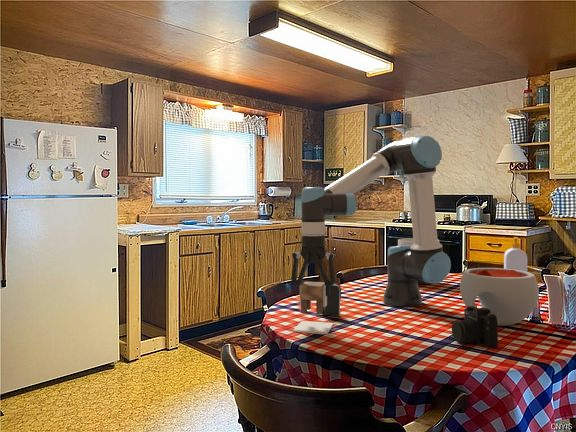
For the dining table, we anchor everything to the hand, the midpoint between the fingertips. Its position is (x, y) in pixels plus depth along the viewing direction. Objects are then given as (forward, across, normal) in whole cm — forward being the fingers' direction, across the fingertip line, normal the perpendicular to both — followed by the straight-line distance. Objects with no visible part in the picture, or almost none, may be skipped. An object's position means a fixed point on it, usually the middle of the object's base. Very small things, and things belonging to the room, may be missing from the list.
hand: (313, 305), depth 149 cm
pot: (+8, -59, -22) cm, 63 cm away
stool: (+2, 0, 0) cm, 2 cm away
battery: (+8, -3, -18) cm, 20 cm away
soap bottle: (+7, -77, -92) cm, 120 cm away
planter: (+7, -33, -88) cm, 94 cm away
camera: (+8, -48, +2) cm, 49 cm away
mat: (+8, 0, 0) cm, 8 cm away
